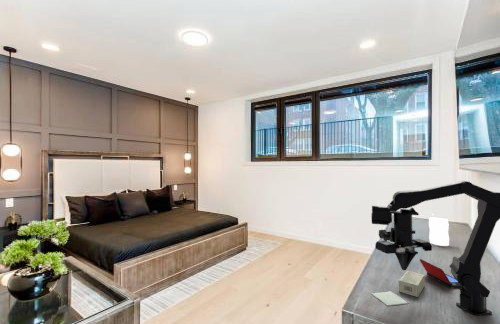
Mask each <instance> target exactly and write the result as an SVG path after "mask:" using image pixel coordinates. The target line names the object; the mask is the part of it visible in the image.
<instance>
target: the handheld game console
mask: <svg viewBox="0 0 500 324" xmlns="http://www.w3.org/2000/svg"><path fill="white" fill-rule="evenodd" d="M419 263H421V265H422V267H423V268H424V270H425V271H426V275H427V276H428V277H430V278H431V279H434V280H435V281H438V282H440V283H441V284H442V285H444V286H446V287H447V288H450V289H460V288H461V287H462V285H460V284H459V283H458V281H457V280H456V279H455V278H454V276H452V275H449V274H446V273H445V271H444V270H443V269H442V268H440V267H438V266H436V265H434V264H433V263H430V262H427V260H426V261H425V260H423V259H422V258H419Z"/></svg>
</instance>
